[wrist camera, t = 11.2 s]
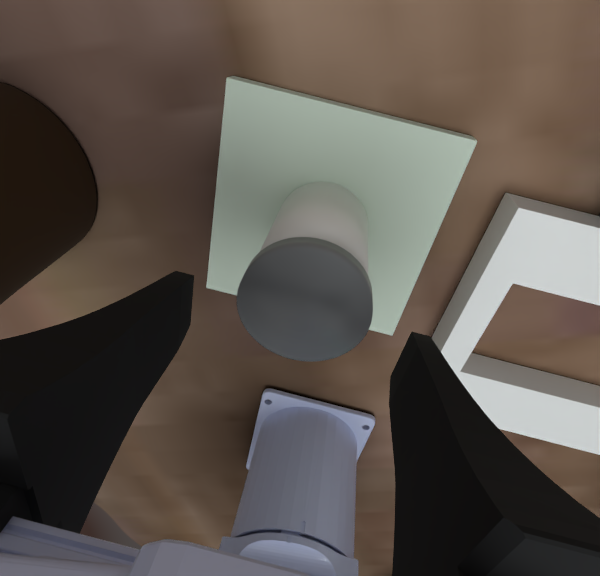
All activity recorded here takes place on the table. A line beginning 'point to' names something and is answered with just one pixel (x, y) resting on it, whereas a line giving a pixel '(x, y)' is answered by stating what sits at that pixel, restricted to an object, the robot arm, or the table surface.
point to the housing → (488, 296)
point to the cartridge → (311, 277)
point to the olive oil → (38, 190)
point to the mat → (335, 169)
